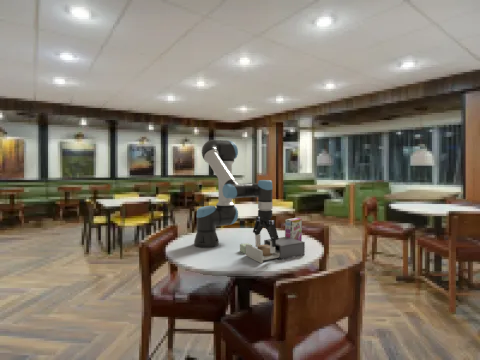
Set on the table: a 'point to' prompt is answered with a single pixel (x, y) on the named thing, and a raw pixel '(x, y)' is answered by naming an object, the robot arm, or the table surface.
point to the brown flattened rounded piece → (265, 249)
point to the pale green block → (243, 247)
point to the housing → (288, 247)
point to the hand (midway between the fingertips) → (265, 249)
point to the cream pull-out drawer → (259, 254)
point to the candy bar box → (293, 228)
